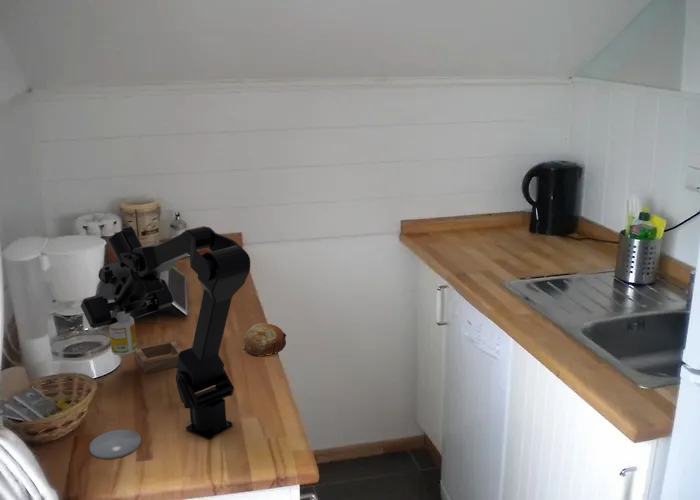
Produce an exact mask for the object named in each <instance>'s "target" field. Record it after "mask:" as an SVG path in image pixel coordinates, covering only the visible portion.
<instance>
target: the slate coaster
mask: <svg viewBox="0 0 700 500" xmlns="http://www.w3.org/2000/svg"><path fill="white" fill-rule="evenodd" d="M141 444H142V438H141V436H140V434H139V433H138V432H136V431H134V430H131V429H130V430H129V429H115V430H111V431H107V432H105V433H102V434H100V435H98V436H97V437H95V438H94V439H93V440H92V441H91V442H90V444H89V451H90V454H91V456H93V457H94V458H97V459H103V460H113V459H114V460H115V459H118V458H123V457H125V456H128V455H131V454H132V453H134V452H136V451H137V450H138V449H139V448H140V446H141Z"/></svg>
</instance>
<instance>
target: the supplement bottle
mask: <svg viewBox="0 0 700 500" xmlns="http://www.w3.org/2000/svg"><path fill="white" fill-rule="evenodd" d="M116 319H117V321H118V322H117V323H115V324H113V325H111V326H108V330H109V338H110V347H111V353H112V354H114V355H117V356H127V355H131V354H133V353H135V351H136V350H137V348H138V343H137V335H136V325H135V319H133V318H132V317H131V316H130V313H127V314H125V312H124V311H123V312H120V313H117V315H116Z"/></svg>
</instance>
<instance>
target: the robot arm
mask: <svg viewBox="0 0 700 500" xmlns="http://www.w3.org/2000/svg"><path fill="white" fill-rule="evenodd" d="M108 244H109V246H110V248H111V250H112V252H113V254H114V256H115V258H116V260H117V261H115V262H111V263H108V264H107V265H104V266H103V267H101V268H100V269H99V271H98V275H97V276H98V279H99V280H100V281H101V283H102V285H106V284H109V285H111V286H112V289H111V292H112V295H113V296H115V297H114V299H113V301H112V302H109V300H108V298H107V297H105V298H104V297H103V295H101V294H97V295H93V296H90V297H89V296H88V297H85V298H83V300H82V302H81V304H80V308H81V310H82V312H83V315H84V316H85V319H86V320H87V322H88V325H89V327H90V328H92V329H97V328H100V327H104V326H105V327H106V328H107V327H108V328H109V326H111V325H113V324H115V323H117V322H118V321H117V319H116V315H117V313H120V312H123V311H124V312H125V314H127V313H130V316H131V317H132V318H133V319H134V320H135V319H137V318H139V317H140V318H141V317H143V316H145V315H148V314H151V313H154V312H157V311H159V310H162V309H165V308H169V307H171V306H172V305H173V303H174V300H175V297H174V294H173V292H172V291H171V289H170V287H169V285H168V283H167V281H166V280H165V279H163V278H160V273H163V272H168V271H170V270H172V269H173V268H174V267H175V266H176V265H177V263H178V260H181V259H182V258H183V259H184V258H185V257H187V256H189V266H190V268H191V269H192V270H193V271H194V272H195V273H196V274H197V279H198V281H199V282H200V284H201V286H202V287H203V294H202V297H201V298H202V299H201V304H200V308H199V313H198V319H197V322H196V323H197V324H196V327H195V330H194V331H195V333H194V336H193V337H194V338H193V342H192V347H190V348H186V349H184V350H183V349H182V350H183V351H181V352H180V353H179V356H178V363H177V365H176V367H175V369H177V370H176V374H175V382H176V387H177V391H178V393H179V399H180V402H181V403H182V404H183V407H184V408H185V409H189V415H190V423H191V424H189V425H187V426H186V427H185V430H186V431H187V432H189V433H192V434H194V435H196V436H199V437H202V438H204V439H206V440H212V439H213V438H214V437H216V436H218V435H219V434H221V433H223V432H224V431H226V430H227V429H229V428H231V427H232V426H233V422H232V421H229V420H227V414H226V413H227V412H226V411H227V410H226V398H228V397H231V396H233V395H234V389H235V387H234V385H233V383H232V382H231V379H230V377H229V376H228V374H227V372H226V370H225V363H224V360H222V358H221V356H220V355H219V354H220V348H221V345H222V340H223V337H224V332H225V328H226V323H227V320H228V316H229V312H230V309H231V308H230V307H231V303H232V300H233V299H232V298H233V296H234V295H235V294H236V293H237V292H238V291H239V290H240V289H241V288H242V287H243V286H244V285H245V283H246V282H247V281H246V280H247V278H248V276H249V274H250V271H251V258H250V255H249V253H248V252H247V251H246V250H245V249H243V247H242V246H241V245H240V244H238V242H236V241H235V240H234V239H231V238H229V237H227V236H224V235H222V234H219V233H217V232H216V231H214V230H213V228H211V227H210V226H198V227H194V228H190V229H185V230H184V231H183V232H181V233H180V234H178V235H176V236H174V237H171V238H169V239H168V240H165V241H161V242H156V243H153V244H149V245H143V243H142V242H141V240H140V237H139V236H138V234H137V232H136V231H135V230H134V228H133V226H128V227H123V228H122V229H121V231H118V232H116V233H115V234H114V235H112V236H111V237H109V238H108ZM206 249H209V250H210V251H207V252H204V253H203V254H202V253H200V252H199V251H203V250H206Z"/></svg>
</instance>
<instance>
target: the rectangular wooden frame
mask: <svg viewBox="0 0 700 500" xmlns="http://www.w3.org/2000/svg"><path fill="white" fill-rule="evenodd" d="M181 351H183V349H182V348H181V347H180V345H179V344H178V343H177V342H176V341H175V339H172V340H167V341H162V342H159V343H153V344H148V345H144V346H143V345H142V346H139V347H138V346H137V350H136V351H135V352H134V358H135V360H136V362H137V363H138V365H139V366H140V367H141V369H142V371H143V372H144V374H150V373H154V372H155V373H156V372H159V371H164V370H168V369H171V368H172V369H173V368H176V365H177V363H178V356H179V353H180V352H181ZM167 354H169V355H167ZM161 355H166V356H162V357H157V356H161ZM152 357H157V358H153V359H152ZM148 358H151V359H148Z"/></svg>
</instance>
